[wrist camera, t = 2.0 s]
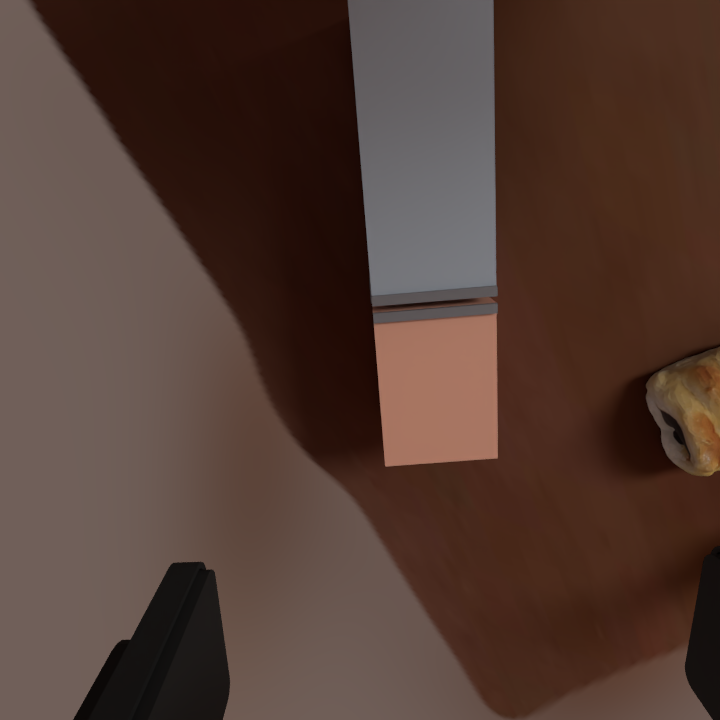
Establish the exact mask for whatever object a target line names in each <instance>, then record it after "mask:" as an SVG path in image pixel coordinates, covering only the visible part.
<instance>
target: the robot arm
mask: <svg viewBox="0 0 720 720" xmlns="http://www.w3.org/2000/svg"><path fill="white" fill-rule="evenodd" d="M685 672H686V676H687V679H688V682H689V685H690V686H691V688H692V690H693V691H694V693H695V694H696V695H697V697H698V699H699V700H700V701H701V703H702V704H703V706H704V707H705V709H706V710H707V712H708V713H709V715H710V716H711V718H712V719H713V720H720V546H717V547H715V548H714V549H713V550H712V552H711V554H710V555H707V556H706V557H705V558H704V561H703V566H702V572H701V578H700V583H699V589H698V595H697V600H696V606H695V612H694V617H693V623H692V628H691V634H690V640H689V645H688V651H687V657H686V662H685ZM229 688H230V678H229V670H228V662H227V655H226V649H225V642H224V635H223V627H222V620H221V614H220V607H219V599H218V591H217V584H216V578H215V572H214V571H213V570H206V568H205V565H204V563H203V562H187V563H186V562H183V563H173V564H171V566H170V567H169V569H168V571H167V572H166V574H165V576H164V578H163V580H162V582H161V584H160V585H159V587H158V589H157V591H156V593H155V595H154V597H153V599H152V601H151V602H150V604H149V606H148V608H147V610H146V612H145V614H144V616H143V617H142V619H141V621H140V623H139V625H138V627H137V629H136V631H135V633H134V635H133V636H132V638H131V640H121V641H120V642H119V643H117V645H116V646H115V647H114V649H113V650H112V651H111V653H110V655H109V657H108V659H107V661H106V663H105V664H104V666H103V667H102V669H101V671H100V673H99V675H98V677H97V678H96V680H95V682H94V684H93V685H92V687H91V689H90V691H89V692H88V694H87V696H86V698H85V700H84V701H83V703H82V705H81V707H80V709H79V710H78V712H77V714H76V716H75V717H74V719H73V720H223V716H224V713H225V709H226V705H227V701H228V697H229Z"/></svg>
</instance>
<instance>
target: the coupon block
mask: <svg viewBox="0 0 720 720" xmlns="http://www.w3.org/2000/svg"><path fill="white" fill-rule="evenodd" d="M348 10H349V22H350V35H351V47H352V60H353V72H354V84H355V97H356V109H357V122H358V134H359V147H360V159H361V171H362V184H363V196H364V209H365V221H366V234H367V246H368V258H369V271H370V278H369V284H370V298H371V304H372V307H373V306H385V305H397V304H409V303H421V302H433V301H445V300H457V299H469V298H481V297H493V296H497V286H496V217H495V114H494V11H493V0H348Z"/></svg>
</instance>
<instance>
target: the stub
mask: <svg viewBox="0 0 720 720" xmlns="http://www.w3.org/2000/svg"><path fill="white" fill-rule="evenodd" d="M372 308H373V320H374V333H375V345H376V358H377V370H378V383H379V395H380V407H381V420H382V432H383V445H384V457H385V466H398V465H411V464H425V463H439V462H452V461H466V460H479V459H493V458H498V423H497V320H496V313H498V303H496V302H495V301H494V300H492V299H491V298H490V297H481V298H469V299H457V300H445V301H433V302H421V303H409V304H397V305H385V306H373V307H372Z"/></svg>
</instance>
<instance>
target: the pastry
mask: <svg viewBox="0 0 720 720" xmlns="http://www.w3.org/2000/svg"><path fill="white" fill-rule="evenodd" d="M646 388H647V394H646V401H647V405H648V408H649V411H650V412H651V414H652V415H653V417H654V420H655V421H656V423H657V424H658V426H659V427H660V429H661V441H662V445H663V448H664V450H665V452H666V455H667V456H668V458H669V459H670V460H671V461H672V462H673V463H674V464H676V465H677V466H678V467H680V468H681V469H683V470H684V471H686V472H688V473H690V474H692V475H698V476H710V475H712V474H713V473H714V472H715V471H719V470H720V347H718V348H716V349H711V350H708V351H706V352H704V353H701V354H698V355H695V356H691V357H687V358H685V359H683V360H681V361H678V362H676V363H674V364H672V365H670V366H667V367H665V368H663V369H662V370H661V371H658V372H656V373H655V374H654V375H653V376H651V377H650V379H649V380H648V382H647V383H646Z"/></svg>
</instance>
